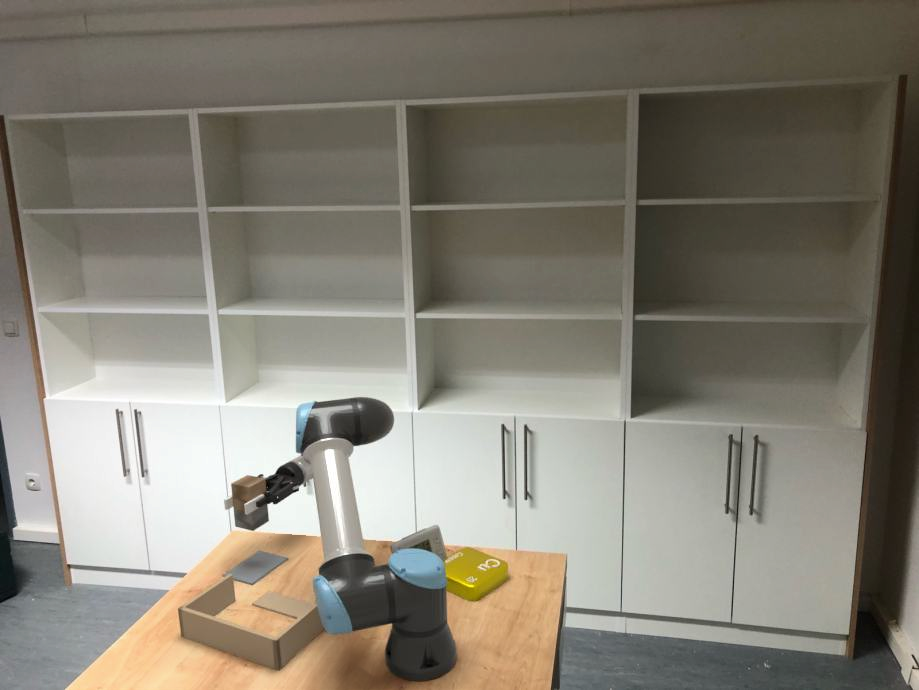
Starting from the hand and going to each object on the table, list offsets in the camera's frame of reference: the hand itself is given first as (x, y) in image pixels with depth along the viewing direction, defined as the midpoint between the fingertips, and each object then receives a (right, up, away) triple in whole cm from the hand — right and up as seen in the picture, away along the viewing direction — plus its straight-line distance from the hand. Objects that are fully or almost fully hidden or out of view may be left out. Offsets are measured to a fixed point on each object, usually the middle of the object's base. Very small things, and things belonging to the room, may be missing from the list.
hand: (235, 507), depth 179 cm
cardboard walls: (+11, -23, -16) cm, 31 cm away
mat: (+3, -18, +9) cm, 20 cm away
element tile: (+59, -19, +1) cm, 62 cm away
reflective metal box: (+2, -6, +6) cm, 9 cm away
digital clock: (+47, -18, +4) cm, 50 cm away
